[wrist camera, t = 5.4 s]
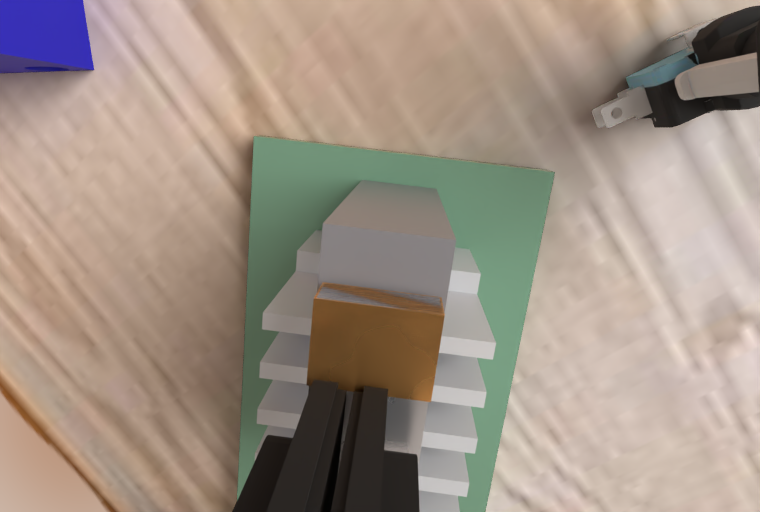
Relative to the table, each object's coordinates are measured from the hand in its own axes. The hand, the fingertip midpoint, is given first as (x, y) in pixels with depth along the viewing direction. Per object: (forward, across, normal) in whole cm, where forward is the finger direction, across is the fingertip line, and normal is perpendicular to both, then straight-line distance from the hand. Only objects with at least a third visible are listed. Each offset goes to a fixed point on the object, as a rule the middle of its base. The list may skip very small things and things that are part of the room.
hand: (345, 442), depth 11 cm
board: (+12, 0, +4) cm, 12 cm away
